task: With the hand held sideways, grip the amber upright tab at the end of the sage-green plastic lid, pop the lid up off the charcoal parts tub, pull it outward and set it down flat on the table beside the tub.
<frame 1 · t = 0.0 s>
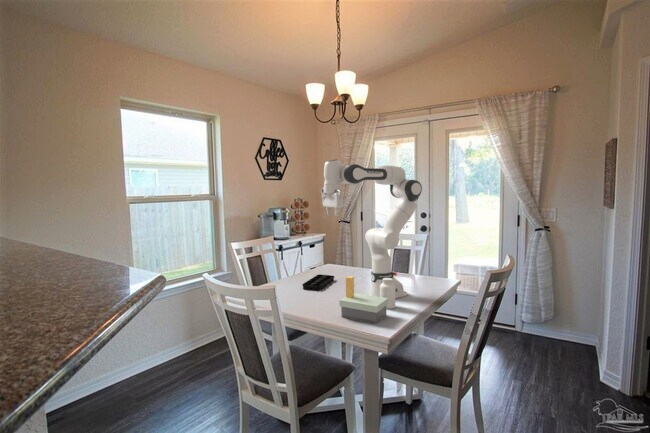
hand: (332, 215, 192), 48 cm above the table, tool pointing down, fingers open, 8 cm apart
lid: (364, 305, 173), point 5 cm above the table, touching tub
pill bottle: (387, 307, 187), on the table
black compartment tray: (319, 285, 233), on the table
tub: (364, 316, 174), on the table
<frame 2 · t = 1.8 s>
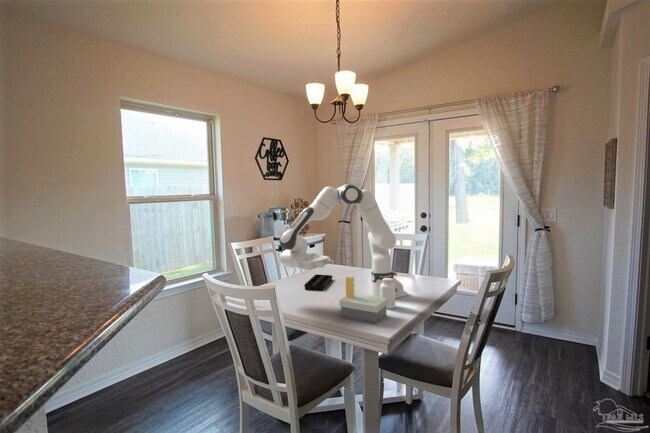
hand: (328, 264, 182), 24 cm above the table, tool horizontal, fingers open, 8 cm apart
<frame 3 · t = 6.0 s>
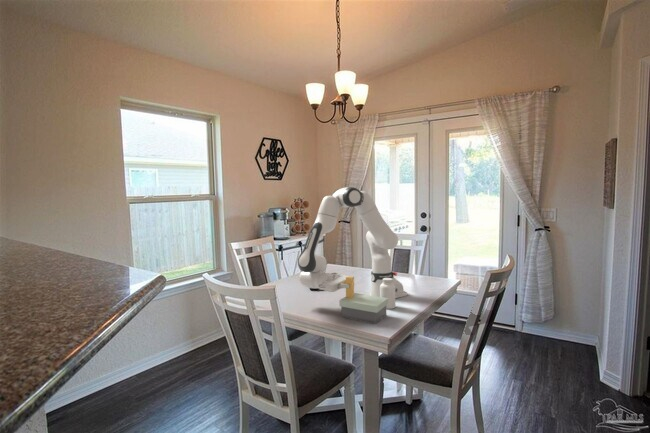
hand: (351, 285, 176), 15 cm above the table, tool horizontal, fingers closed on lid, 3 cm apart
lid: (364, 305, 173), point 5 cm above the table, touching gripper, tub
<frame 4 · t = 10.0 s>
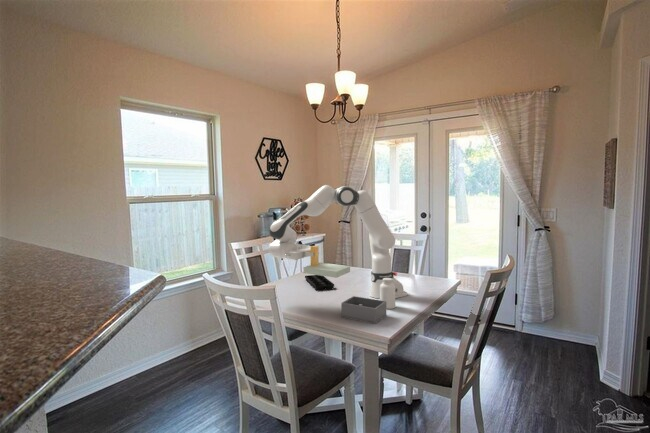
hand: (316, 254, 186), 28 cm above the table, tool horizontal, fingers closed on lid, 3 cm apart
lid: (327, 272, 183), point 19 cm above the table, touching gripper
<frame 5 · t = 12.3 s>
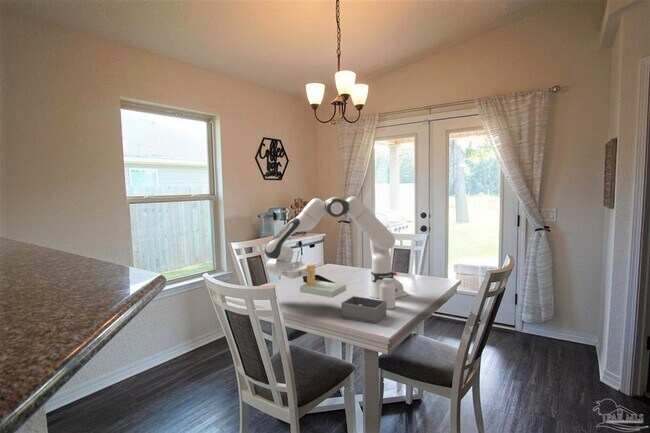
hand: (312, 272, 188), 18 cm above the table, tool horizontal, fingers closed on lid, 3 cm apart
lid: (323, 291, 185), point 9 cm above the table, touching gripper
when the fingers open (10 cm above the table, at t = 14.0 s): lid drops 2 cm, on the table.
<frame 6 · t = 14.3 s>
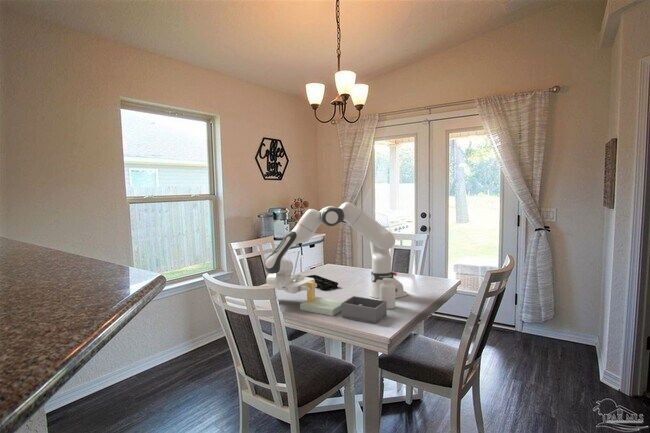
hand: (312, 287, 188), 10 cm above the table, tool horizontal, fingers open, 5 cm apart
lid: (323, 308, 186), on the table
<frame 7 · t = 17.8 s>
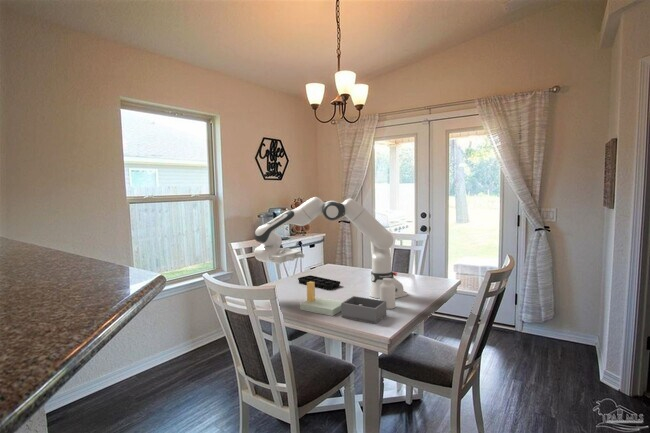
hand: (298, 257, 192), 26 cm above the table, tool horizontal, fingers open, 8 cm apart
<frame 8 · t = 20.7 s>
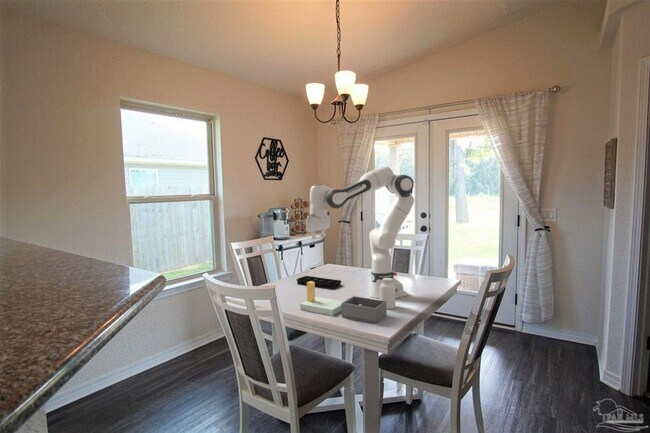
hand: (318, 238, 199), 35 cm above the table, tool pointing down, fingers open, 8 cm apart
at the end: lid inside the target area (0.5 cm from its centre), on the table; lid touching table; lid tilted 0° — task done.
